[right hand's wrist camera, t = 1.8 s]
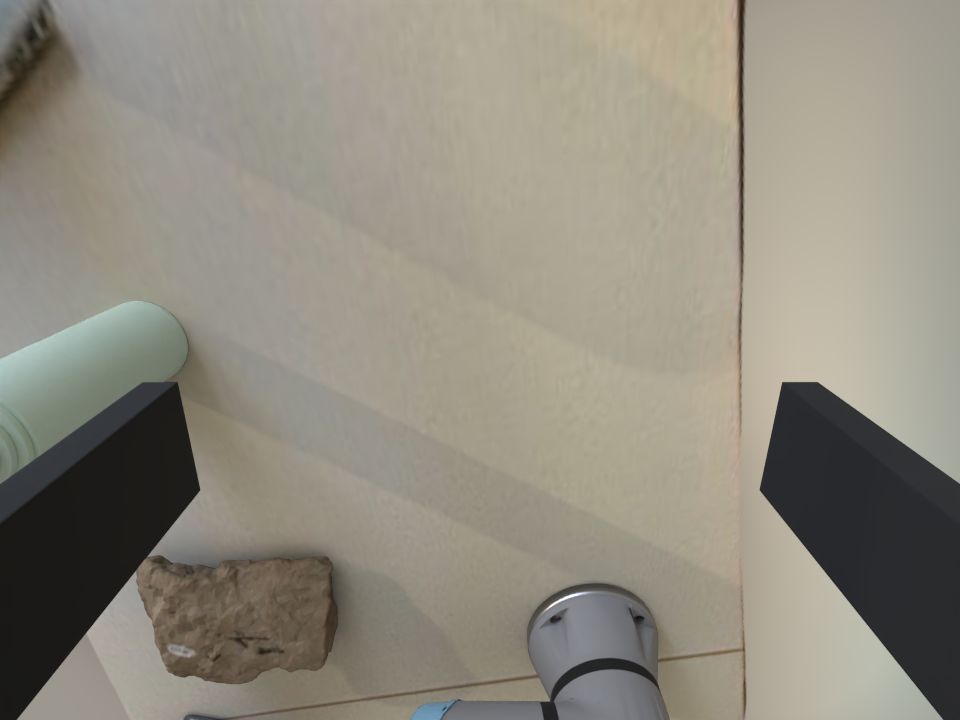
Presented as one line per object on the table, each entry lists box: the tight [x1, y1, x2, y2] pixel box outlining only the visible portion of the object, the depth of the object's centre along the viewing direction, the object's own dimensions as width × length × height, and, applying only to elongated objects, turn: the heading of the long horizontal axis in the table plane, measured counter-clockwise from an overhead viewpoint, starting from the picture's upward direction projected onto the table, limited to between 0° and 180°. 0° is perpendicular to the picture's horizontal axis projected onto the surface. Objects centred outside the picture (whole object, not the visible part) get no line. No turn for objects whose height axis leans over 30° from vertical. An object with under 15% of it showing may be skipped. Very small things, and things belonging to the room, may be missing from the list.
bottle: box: [0, 301, 188, 484], centre depth 43 cm, size 8×8×25 cm
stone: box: [136, 555, 337, 684], centre depth 64 cm, size 21×15×6 cm
